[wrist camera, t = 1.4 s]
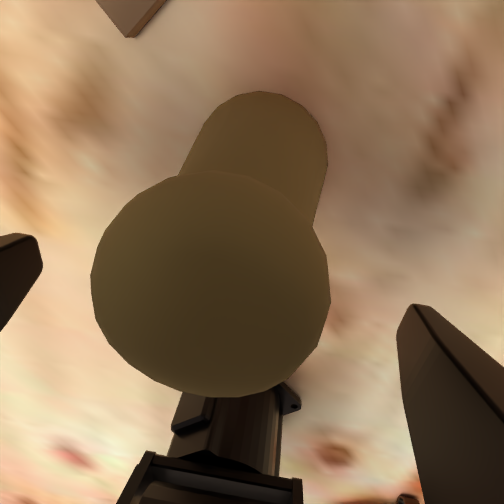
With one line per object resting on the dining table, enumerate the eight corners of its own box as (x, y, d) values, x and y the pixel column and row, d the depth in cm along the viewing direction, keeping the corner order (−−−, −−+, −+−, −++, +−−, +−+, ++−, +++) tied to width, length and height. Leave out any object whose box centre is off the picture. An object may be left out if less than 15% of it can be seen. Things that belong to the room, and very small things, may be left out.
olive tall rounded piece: (308, 68, 13) (310, 133, 4) (341, 205, 16) (388, 429, 7) (173, 119, 15) (-38, 246, 6) (224, 235, 18) (136, 446, 9)
